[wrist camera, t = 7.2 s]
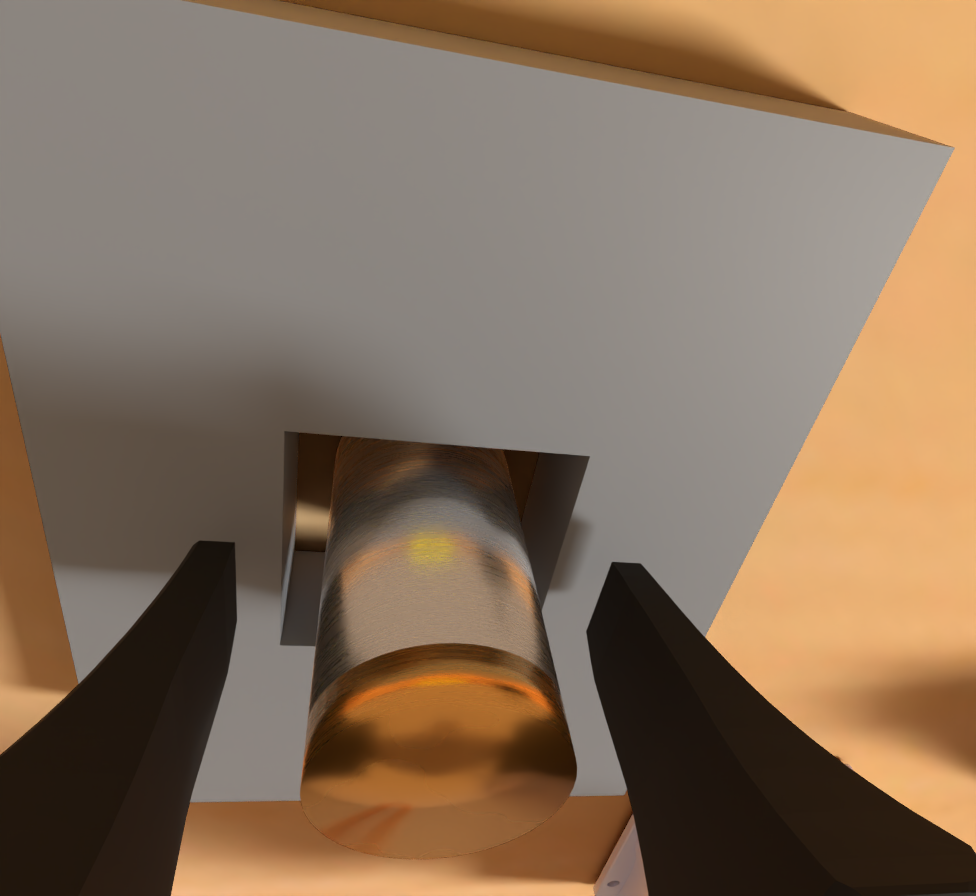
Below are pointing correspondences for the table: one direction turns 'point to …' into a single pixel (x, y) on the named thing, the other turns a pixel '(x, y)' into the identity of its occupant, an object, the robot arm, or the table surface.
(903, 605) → the table surface
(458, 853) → the glass jar with lid
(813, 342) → the dock plate
